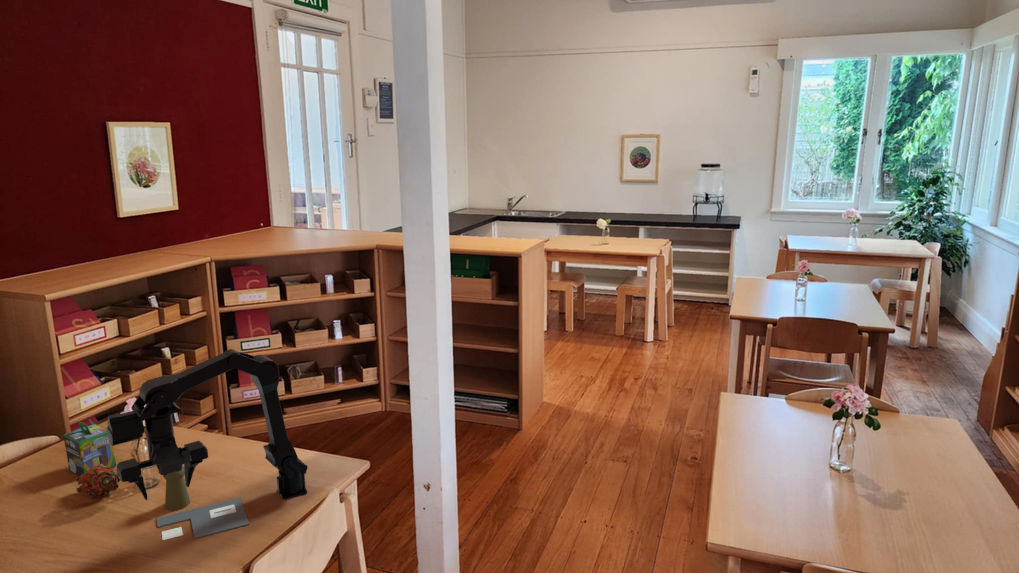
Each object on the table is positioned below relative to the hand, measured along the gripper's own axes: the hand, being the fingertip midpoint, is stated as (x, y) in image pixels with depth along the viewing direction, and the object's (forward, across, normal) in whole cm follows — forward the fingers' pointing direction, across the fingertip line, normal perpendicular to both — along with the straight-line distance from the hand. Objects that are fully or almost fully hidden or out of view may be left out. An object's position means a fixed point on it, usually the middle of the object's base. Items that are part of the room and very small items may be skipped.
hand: (167, 492), depth 161 cm
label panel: (+11, +7, +1) cm, 13 cm away
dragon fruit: (+11, -10, +32) cm, 36 cm away
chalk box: (+11, -9, +50) cm, 52 cm away
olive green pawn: (+11, +5, +13) cm, 18 cm away
